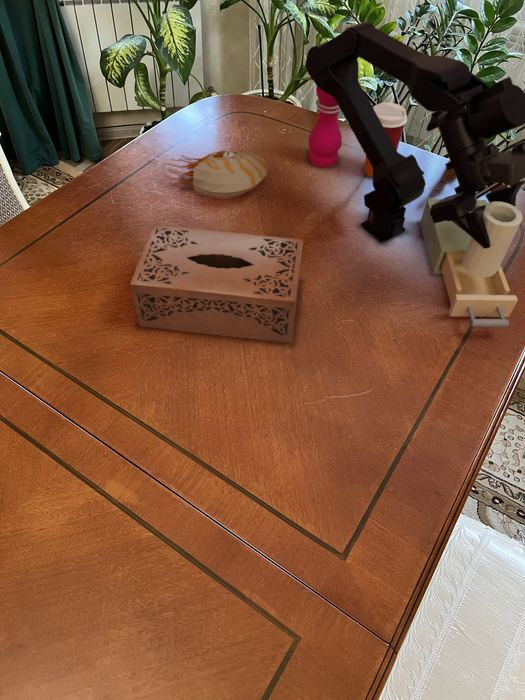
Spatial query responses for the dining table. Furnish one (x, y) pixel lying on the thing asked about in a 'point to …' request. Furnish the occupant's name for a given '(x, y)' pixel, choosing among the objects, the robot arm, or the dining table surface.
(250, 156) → the nautilus
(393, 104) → the paper cup
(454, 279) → the drawer
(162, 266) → the tissue box cover
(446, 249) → the cabinet
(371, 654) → the dining table surface
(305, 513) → the dining table surface
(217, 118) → the dining table surface
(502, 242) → the jar
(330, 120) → the pepper mill
